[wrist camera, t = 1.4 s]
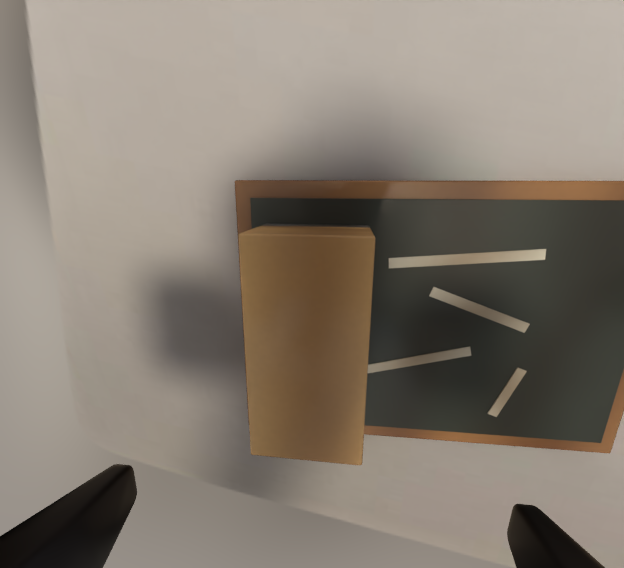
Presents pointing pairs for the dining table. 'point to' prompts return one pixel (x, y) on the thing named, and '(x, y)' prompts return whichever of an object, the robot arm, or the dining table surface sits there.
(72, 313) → the dining table surface
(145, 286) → the dining table surface
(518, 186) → the slate board
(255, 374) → the eraser
